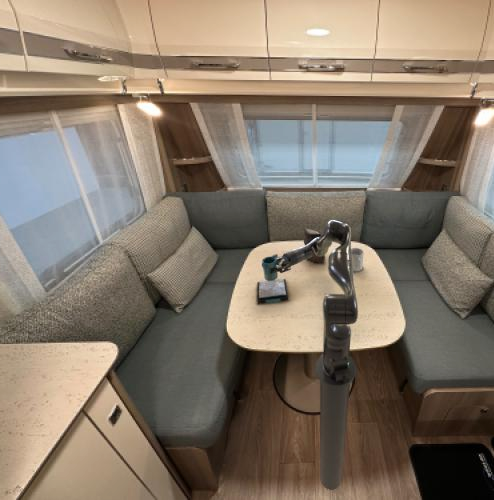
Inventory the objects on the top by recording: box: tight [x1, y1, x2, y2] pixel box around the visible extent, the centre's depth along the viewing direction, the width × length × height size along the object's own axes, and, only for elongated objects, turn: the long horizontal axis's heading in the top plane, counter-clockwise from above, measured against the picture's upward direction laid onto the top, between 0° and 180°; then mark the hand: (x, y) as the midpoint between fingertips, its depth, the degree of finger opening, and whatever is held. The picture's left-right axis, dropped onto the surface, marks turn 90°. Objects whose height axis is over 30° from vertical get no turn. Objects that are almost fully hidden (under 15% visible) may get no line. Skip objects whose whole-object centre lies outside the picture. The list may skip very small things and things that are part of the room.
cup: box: [261, 256, 279, 281], centre depth 131 cm, size 7×7×10 cm
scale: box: [256, 278, 289, 305], centre depth 137 cm, size 16×15×3 cm
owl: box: [303, 227, 326, 264], centre depth 161 cm, size 13×13×20 cm
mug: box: [351, 247, 364, 272], centre depth 153 cm, size 12×8×11 cm
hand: (265, 268), depth 129 cm, fingers closed on cup, 6 cm apart
